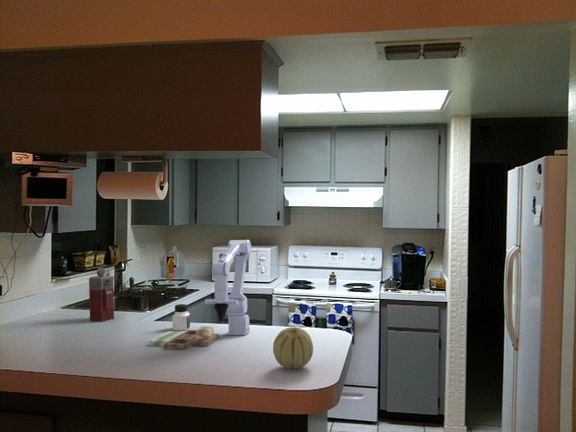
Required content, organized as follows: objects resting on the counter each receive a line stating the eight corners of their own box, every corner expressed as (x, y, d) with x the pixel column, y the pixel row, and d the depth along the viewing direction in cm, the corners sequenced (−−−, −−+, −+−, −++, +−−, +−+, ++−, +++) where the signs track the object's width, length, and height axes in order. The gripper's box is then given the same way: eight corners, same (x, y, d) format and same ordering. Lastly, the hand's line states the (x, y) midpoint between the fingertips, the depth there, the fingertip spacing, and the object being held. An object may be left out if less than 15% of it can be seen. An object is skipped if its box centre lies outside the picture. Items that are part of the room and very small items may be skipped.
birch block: (213, 335, 230) (213, 326, 230) (208, 339, 224) (208, 330, 224) (201, 335, 231) (200, 326, 231) (195, 338, 225) (195, 329, 225)
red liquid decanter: (106, 322, 275) (104, 269, 274) (89, 320, 279) (88, 268, 279) (117, 318, 283) (116, 267, 283) (101, 317, 287) (100, 266, 287)
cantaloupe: (297, 359, 197) (296, 320, 197) (322, 368, 185) (321, 326, 185) (264, 367, 188) (264, 326, 188) (289, 377, 176) (288, 333, 176)
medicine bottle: (187, 330, 251) (186, 305, 251) (172, 330, 251) (172, 305, 251) (190, 327, 258) (189, 303, 258) (176, 327, 258) (175, 303, 258)
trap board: (223, 335, 240) (223, 330, 240) (202, 350, 214) (202, 345, 214) (171, 333, 245) (170, 329, 245) (144, 348, 219) (144, 343, 219)
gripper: (202, 291, 223) (202, 322, 223) (234, 291, 220) (235, 323, 220) (207, 288, 230) (208, 319, 230) (239, 288, 227) (239, 319, 227)
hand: (221, 320), depth 226 cm, fingers closed
